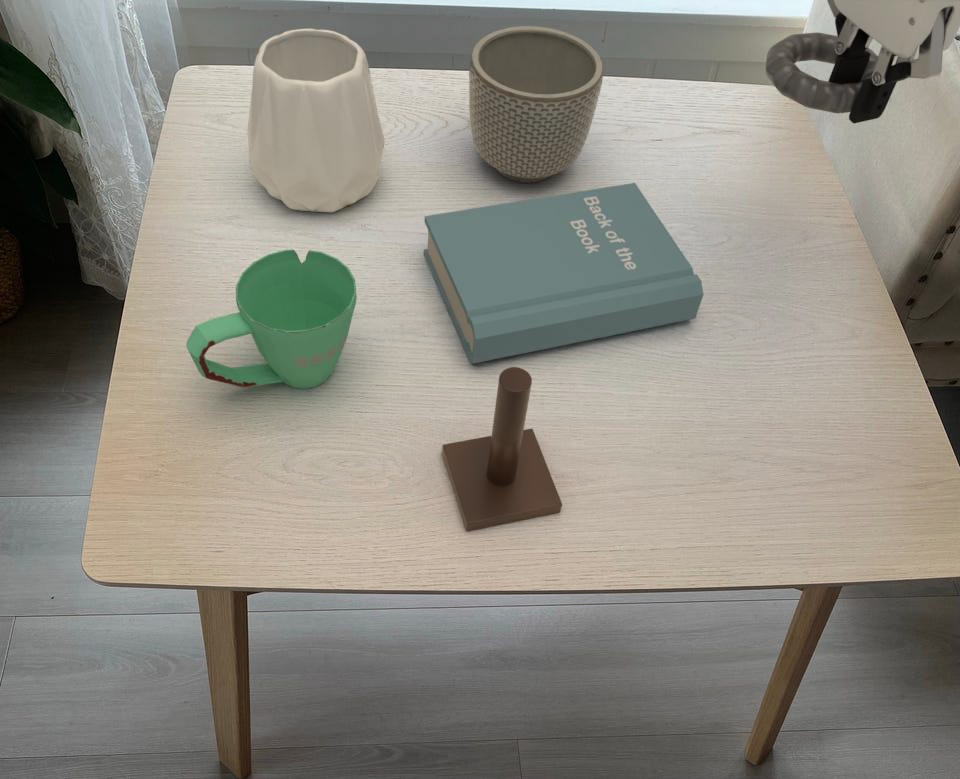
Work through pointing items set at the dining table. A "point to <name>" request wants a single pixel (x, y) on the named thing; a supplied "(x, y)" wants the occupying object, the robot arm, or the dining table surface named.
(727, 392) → the dining table surface
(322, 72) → the vase
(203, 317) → the dining table surface
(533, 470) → the post
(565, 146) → the planter
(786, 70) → the segmented grey ring
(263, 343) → the mug
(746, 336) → the dining table surface
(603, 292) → the book
